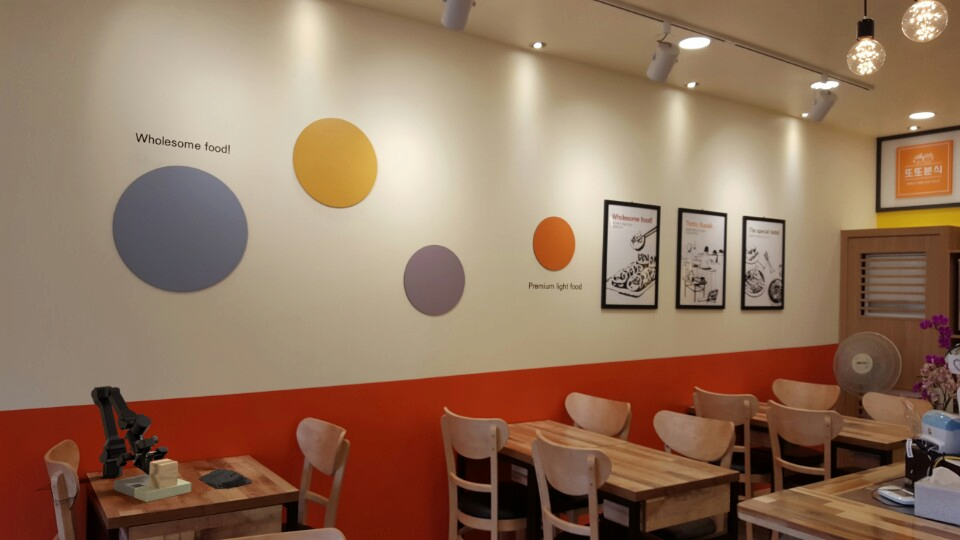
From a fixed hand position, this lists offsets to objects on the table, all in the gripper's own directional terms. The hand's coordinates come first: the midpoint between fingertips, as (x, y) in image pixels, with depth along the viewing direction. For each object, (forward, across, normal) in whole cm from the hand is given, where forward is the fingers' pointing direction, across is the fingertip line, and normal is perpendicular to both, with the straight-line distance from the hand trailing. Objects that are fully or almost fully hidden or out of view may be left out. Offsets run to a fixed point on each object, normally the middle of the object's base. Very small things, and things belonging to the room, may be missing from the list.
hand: (149, 474), depth 282 cm
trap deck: (+6, 0, +2) cm, 6 cm away
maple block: (+9, 0, -6) cm, 10 cm away
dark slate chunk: (+13, +26, -4) cm, 29 cm away
